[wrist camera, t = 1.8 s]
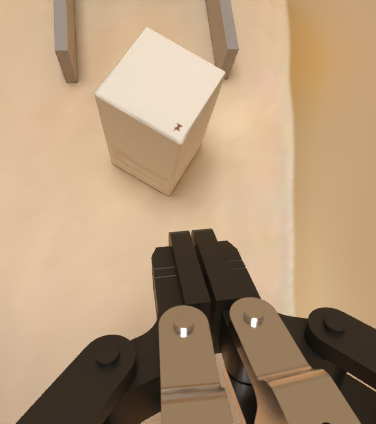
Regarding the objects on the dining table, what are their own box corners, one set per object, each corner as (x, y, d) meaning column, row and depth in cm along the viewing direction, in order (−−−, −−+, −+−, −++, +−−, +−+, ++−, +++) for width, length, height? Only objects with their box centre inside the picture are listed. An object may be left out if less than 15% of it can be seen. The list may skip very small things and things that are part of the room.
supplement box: (202, 144, 38) (230, 71, 26) (168, 198, 36) (181, 147, 23) (146, 110, 38) (147, 22, 26) (108, 162, 36) (90, 93, 24)
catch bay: (227, 78, 40) (238, 49, 35) (66, 82, 37) (55, 50, 33) (210, -25, 44) (219, -65, 39) (62, -29, 41) (51, -72, 36)
